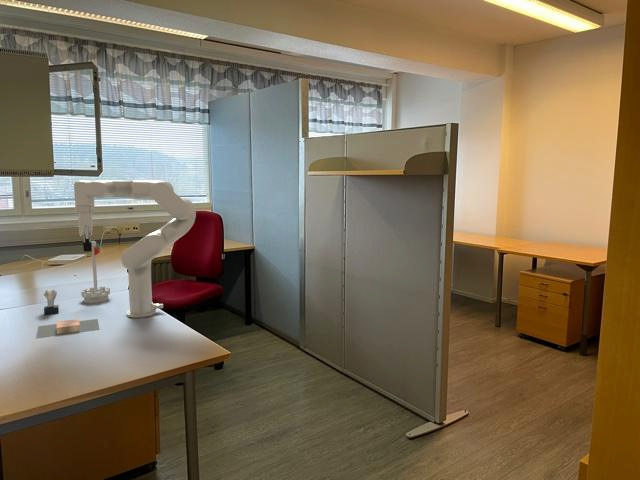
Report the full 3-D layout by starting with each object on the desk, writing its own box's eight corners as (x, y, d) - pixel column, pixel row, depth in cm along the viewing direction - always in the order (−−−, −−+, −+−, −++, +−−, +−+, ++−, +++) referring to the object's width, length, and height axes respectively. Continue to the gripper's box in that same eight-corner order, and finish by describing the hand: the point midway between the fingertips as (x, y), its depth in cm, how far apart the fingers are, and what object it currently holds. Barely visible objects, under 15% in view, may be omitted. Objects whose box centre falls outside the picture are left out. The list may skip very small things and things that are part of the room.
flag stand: (76, 301, 231) (72, 241, 227) (99, 295, 243) (95, 238, 239) (93, 304, 225) (89, 243, 221) (116, 298, 237) (113, 240, 233)
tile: (79, 318, 194) (79, 325, 186) (79, 324, 194) (79, 331, 186) (57, 321, 190) (56, 328, 182) (57, 327, 190) (56, 334, 183)
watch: (59, 310, 216) (57, 287, 215) (58, 314, 209) (56, 290, 207) (45, 311, 214) (43, 288, 212) (43, 316, 206) (42, 292, 205)
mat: (97, 320, 202) (97, 318, 202) (99, 330, 188) (99, 329, 188) (38, 327, 192) (38, 326, 192) (35, 339, 178) (35, 338, 178)
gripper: (75, 208, 207) (77, 249, 210) (75, 210, 194) (78, 254, 197) (94, 208, 211) (96, 248, 213) (95, 210, 198) (98, 253, 200)
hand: (87, 251), depth 205 cm, fingers closed
